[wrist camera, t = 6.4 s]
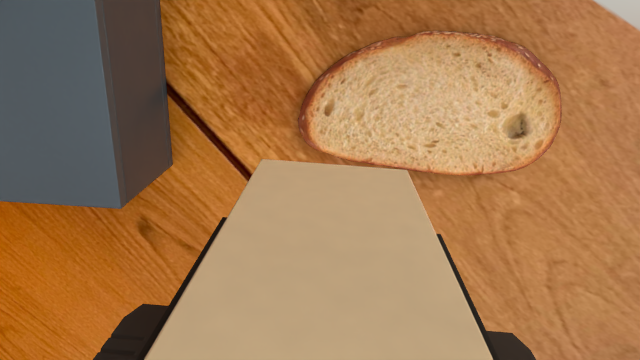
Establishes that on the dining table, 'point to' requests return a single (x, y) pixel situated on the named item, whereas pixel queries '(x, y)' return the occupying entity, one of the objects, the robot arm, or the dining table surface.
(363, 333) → the block
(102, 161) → the chest lid
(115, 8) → the chest
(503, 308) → the dining table surface
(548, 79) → the bread slice
